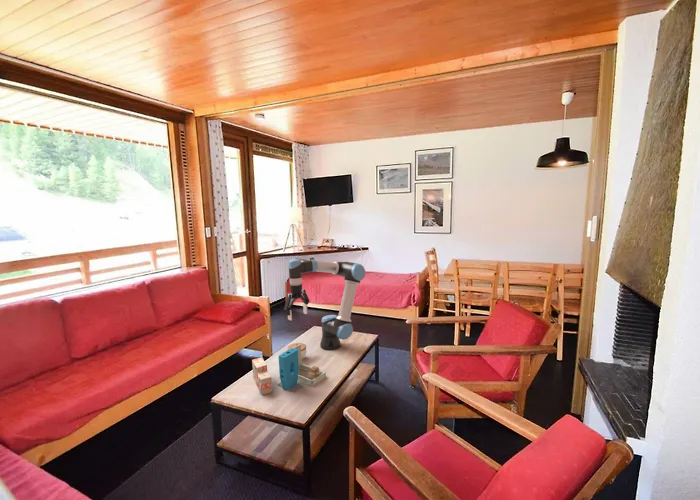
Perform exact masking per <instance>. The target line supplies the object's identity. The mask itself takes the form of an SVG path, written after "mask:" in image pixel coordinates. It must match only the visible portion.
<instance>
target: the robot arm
mask: <svg viewBox="0 0 700 500" xmlns="http://www.w3.org/2000/svg"><path fill="white" fill-rule="evenodd" d="M364 267H365V266H364V265H362V264H360V263H356V262H351V261H333V262H330V261H323V260H321V261H320V260H315V259H303V258H298V257H293V258H292V259H290V260H288V277H289V284H290V285H289V291H290V293H287V294H286V300H285V304H284V306H283V310H284V311H286V315H287V320H289V321H293V317H292V316H293V315H292V307H293V305H294V303H295V301H296V300H298V299H299V300H301V301H302V309H303V310H302V311H303V314H305V315H308V304H309V303H310V298H309V296H308V295H307V292H306V289H304V288H303V284H302V283H303V279H302V274H307V273H315V272H319V273H330V274H332V275H335V276H340V277H343V278H344V279H343V280H344V282H345V283H344V289H343V294H342V297H341V302H340V307H339V312H338V314H337V315H336V314H328V315H323V317H322V318H321V334H322V335H321V340H320V343H319V344H320V345H319V346H320V349H323V350H326V351H333V350H337V349H339V348H340V347H341V340H343V341H344V340H347V339H349V338H350V337H351V336H352V335H353V333H354V332H353V331H354V327H353V325H352V319H351V315H352V311H353V310H352V309H353V307H354V302H355V298H356V297H355V296H356V293H357V288H358V286H359V284H360V283H361V281H363V280H364V279H365V277H366V269H365V268H364Z"/></svg>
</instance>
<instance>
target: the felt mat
mask: <svg viewBox="0 0 700 500" xmlns="http://www.w3.org/2000/svg"><path fill="white" fill-rule="evenodd" d="M277 385H278V386H279V387H281V388H283V387H282V384H281V381H280V382H279V383H277ZM303 387H304V386H303V385H301V384H298V383H297V384H296V385H294V386H293V387H292V388H290V389H289V390H288V391H289V392H292V393H295V392H298V391H299V390H300V389H302V388H303Z"/></svg>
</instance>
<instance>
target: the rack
mask: <svg viewBox="0 0 700 500" xmlns="http://www.w3.org/2000/svg"><path fill="white" fill-rule="evenodd" d="M293 348H295V349H298V365H299V370H303V371H305V372H306V371H307V372H308V373H309V372H310V368H312V367H313V366H310V365H307V364H303V361H302V360H303V359H302V357H301V344H299V345H297V346H295V347H293ZM319 374H320V375H319V376H318V377H316V378H314V379H313V380H310V379H308V377H306V376H303V375H300V374H298V382H302V383H304V384H306V385H308V386H311V387H314V386H315V385H317V384H318V383H319V382H321V381H322V380H324V379H325V378H327V376H326V375H327V373H326V372H325V371H322V370H320V369H319Z"/></svg>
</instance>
